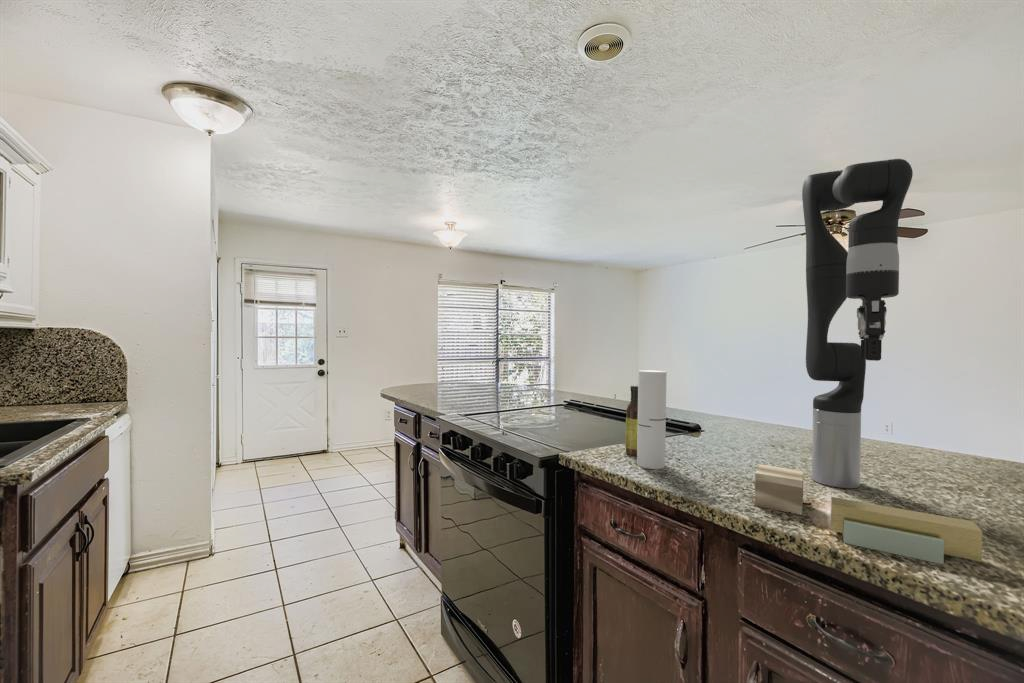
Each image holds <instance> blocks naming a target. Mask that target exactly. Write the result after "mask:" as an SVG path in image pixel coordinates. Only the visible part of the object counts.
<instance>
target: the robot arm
mask: <svg viewBox="0 0 1024 683" xmlns="http://www.w3.org/2000/svg"><path fill="white" fill-rule="evenodd" d="M913 175H914V174H913V168H912V165H911V164H910V163H909V162H908V161H907V160H905V159H902V158H893V159H892V158H891V159H885V160H884V159H883V160H876V161H875V160H874V161H867V162H861V163H855V164H853V163H852V164H850V165H848V166H846V167H845V168H844V169H841V170H833V171H827V172H820V173H819V172H818V173H814V174H813V173H812V174H810V175H808V176H806V177H805V179H804V181H803V184H802V189H801V192H802V194H801V197H802V210H803V219H804V230H805V283H806V286H805V287H806V301H807V328H806V330H807V332H806V345H805V348H806V349H805V366H806V368H805V369H806V372H807V375H808V376H809V378H810V379H812V380H813V381H818V382H819V381H820V382H838V384H837V387H835V388H833V390H830V391H828V392H825V393H823V394H818V395H816V396H814V398H813V400H812V443H811V444H812V446H811V450H812V453H811V460H812V461H811V479H812V480H813V481H814V482H816V483H819V484H822V485H824V486H829V487H834V488H842V489H858V488H860V486H861V447H862V446H861V445H862V444H861V443H862V441H861V440H862V436H861V435H862V434H861V433H862V405H863V400H864V395H865V394H864V393H865V392H864V391H865V380H866V369H867V361H875V362H878V361H881V359H882V340H883V339H884V337H885V334H886V324H887V322H886V321H887V320H886V316H887V306H886V301H885V300H884V299H887V298H894V297H897V296H898V295H899V293H900V292H899V291H900V290H899V289H900V288H899V287H900V253H899V244H898V242H899V240H898V239H899V220H900V217H901V213H902V212H901V211H902V208H903V204H904V201H905V199H906V196H907V192H908V191H909V189H910V185H911V182H912V180H913ZM880 201H881V202H882V204H881V207H880V209H877V210H874V211H871V212H866V213H862V214H858V215H856V216H854V217H852V218H851V220H850V221H849V224H848V243H847V244H848V250H847V249H846V248H845V247H844V246H843V245H842V244H841V243H840V241H838V239H837V238H835V237H834V235H833V234H832V233H831V231H830V230H829V229H828V227H827V226H826V223H825V221H824V219H823V215H822V212H829V211H839V210H843V209H846V208H849V207H852V206H854V205H855V204H859V203H871V202H872V203H873V202H880ZM847 298H848V299H854V300H857V299H858V300H861V305H860V306H859V307H858V308H856V318H857V330H858V337H859V339H860V344H859V343H857V342H856V343H855V342H831V341H830V342H828V334H829V328H830V325H831V323H832V320H833V319H834V316H836V314H837V312H838V311H839V309H840V308H841V306H843V304H844V303H845V302H846V300H847Z"/></svg>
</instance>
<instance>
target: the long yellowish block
mask: <svg viewBox="0 0 1024 683" xmlns="http://www.w3.org/2000/svg"><path fill="white" fill-rule="evenodd" d="M844 520H848V521H853V522H858V523H863V524H868V525H874V526H879V527H884V528H889V529H894V530H899V531H904V532H910V533H915V534H920V535H925V536H930V537H935V538H941V539H943V540H944V555H947V556H952V557H957V558H962V559H967V560H972V561H976V562H982V561H983V531H982V529H981V528H980V527H979V526H978V525H977V524H976V523H975V522H974V521H973V520H968V519H967V520H966V519H963V518H957V517H950V516H944V515H939V514H934V513H927V512H922V511H916V510H908V509H903V508H897V507H892V506H888V505H887V506H886V505H882V504H875V503H869V502H863V501H858V500H852V499H846V498H840V497H834V496H831V497H830V528H831V532H837V533H841V534H843V533H844Z"/></svg>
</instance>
